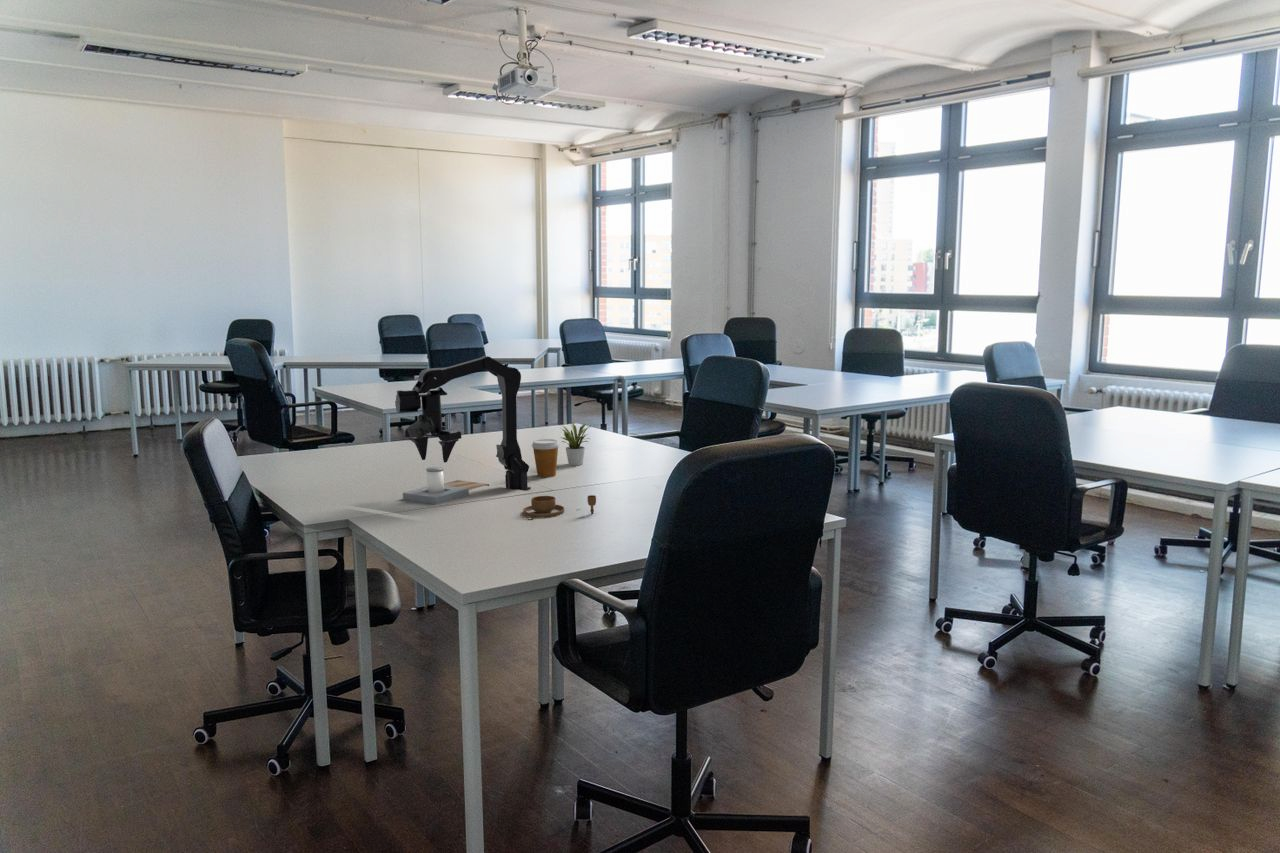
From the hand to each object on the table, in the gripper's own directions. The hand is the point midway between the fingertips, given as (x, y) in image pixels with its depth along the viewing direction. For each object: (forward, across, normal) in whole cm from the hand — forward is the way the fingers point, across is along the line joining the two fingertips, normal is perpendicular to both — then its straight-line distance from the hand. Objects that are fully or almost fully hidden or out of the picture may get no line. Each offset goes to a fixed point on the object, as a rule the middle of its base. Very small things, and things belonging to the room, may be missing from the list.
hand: (434, 461), depth 278 cm
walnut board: (+12, -5, +15) cm, 20 cm away
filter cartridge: (+11, 0, 0) cm, 11 cm away
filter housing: (+12, 0, 0) cm, 12 cm away
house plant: (+13, +5, +68) cm, 69 cm away
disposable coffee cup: (+13, +7, +46) cm, 48 cm away
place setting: (+13, +43, +3) cm, 45 cm away
